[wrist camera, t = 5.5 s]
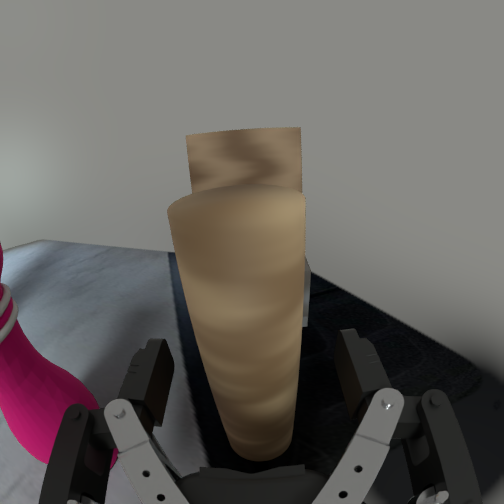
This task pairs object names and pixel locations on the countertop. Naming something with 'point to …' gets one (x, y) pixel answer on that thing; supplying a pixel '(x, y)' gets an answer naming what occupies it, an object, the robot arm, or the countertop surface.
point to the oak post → (246, 305)
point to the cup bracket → (249, 165)
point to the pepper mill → (33, 385)
